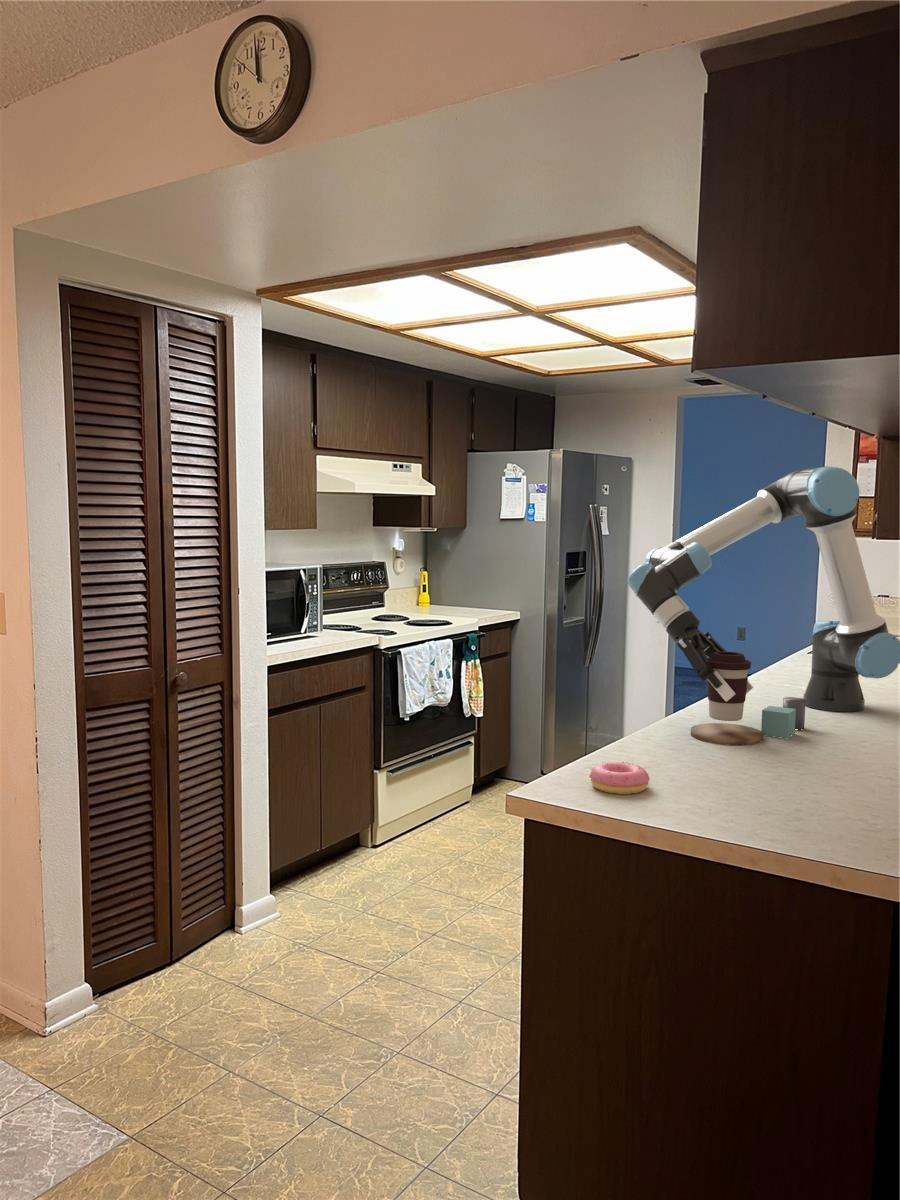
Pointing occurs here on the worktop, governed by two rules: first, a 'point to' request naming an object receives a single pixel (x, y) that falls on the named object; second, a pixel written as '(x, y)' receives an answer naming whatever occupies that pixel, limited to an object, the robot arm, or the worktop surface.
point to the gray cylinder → (800, 710)
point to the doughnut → (619, 777)
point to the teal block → (778, 721)
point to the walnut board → (727, 734)
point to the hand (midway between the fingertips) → (740, 694)
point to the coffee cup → (735, 676)
